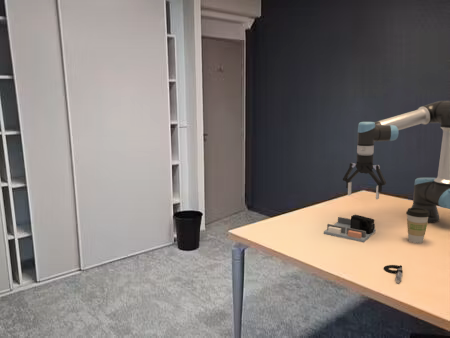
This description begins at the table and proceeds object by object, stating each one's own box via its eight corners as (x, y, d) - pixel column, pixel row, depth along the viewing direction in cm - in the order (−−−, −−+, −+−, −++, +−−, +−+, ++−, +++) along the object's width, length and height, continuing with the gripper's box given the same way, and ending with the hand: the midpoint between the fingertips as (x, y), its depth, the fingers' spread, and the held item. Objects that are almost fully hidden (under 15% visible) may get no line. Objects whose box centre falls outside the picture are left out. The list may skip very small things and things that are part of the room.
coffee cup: (418, 246, 175) (420, 214, 172) (399, 239, 184) (401, 209, 181) (432, 242, 180) (434, 211, 177) (413, 235, 188) (415, 206, 186)
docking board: (375, 231, 195) (376, 223, 194) (363, 242, 181) (364, 233, 180) (337, 224, 207) (337, 216, 206) (323, 233, 193) (323, 225, 192)
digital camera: (348, 229, 194) (349, 216, 193) (354, 227, 198) (355, 214, 197) (367, 235, 187) (368, 221, 185) (373, 232, 190) (374, 218, 189)
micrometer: (384, 265, 157) (384, 259, 156) (403, 269, 153) (404, 263, 153) (379, 281, 144) (380, 274, 143) (400, 285, 140) (401, 278, 140)
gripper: (337, 153, 190) (335, 194, 194) (390, 157, 175) (387, 202, 179) (342, 151, 196) (341, 191, 200) (394, 155, 181) (391, 198, 185)
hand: (363, 196), depth 189 cm, fingers open, 13 cm apart
